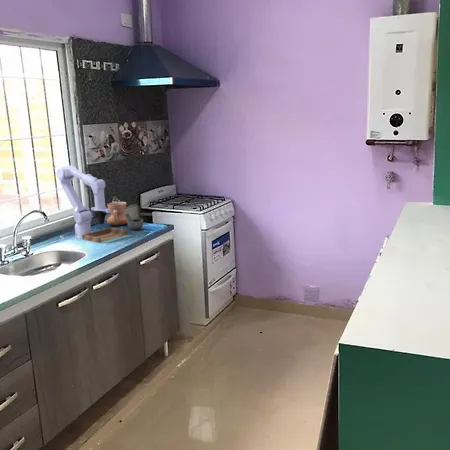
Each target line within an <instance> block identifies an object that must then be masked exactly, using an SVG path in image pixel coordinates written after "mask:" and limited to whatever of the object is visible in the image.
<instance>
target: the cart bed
mask: <svg viewBox="0 0 450 450" xmlns="http://www.w3.org/2000/svg"><path fill="white" fill-rule="evenodd" d="M124 235H129V233H128V230H127V229H121V228H117V227H108V228H103V229H100V230H95V231H91V233H88V234H84V235H82V237H81V239H82V240H85V241H89V242H93V243H94V242H95V243H98V244H99V243H104V242H103V241H107V240H110V239H114V238H117V237H121V236H124Z"/></svg>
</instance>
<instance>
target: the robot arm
mask: <svg viewBox="0 0 450 450" xmlns="http://www.w3.org/2000/svg"><path fill="white" fill-rule="evenodd" d="M55 174H56V176H57V178H58V181H59V183H60V185H61V188H62V189H63V191H64V193H65V195H66V196H67V199H68V200H69V202H70V204H71V206H72V208H73V211H72V216H73V219H74V221H75V225H74V233H75V236H74V238H76V239H80V238H82V235H84V234H88V233H92V227H91V222H92V219H93V212H94V215H95V217H96V218H97V221H98V224H99V225H103V224H105V219H106V215H107V214H111V213H110V209H108V206H106V199H105V188H106V186H107V185H106V181H105V180H104V179H102V178H100V179H98V177H94V176H93V175H92V174H90V173H87V174H86V173H83V172H82V171H80V170H79V169H77V167H76V166H75V165H74V166H73V165H72V164H70V165H66V166H59V167H58V168H57V169H56V173H55ZM74 178H76V179H77V178H78V179H79V180H82V183H83V184H85V185H87V186H89V187H90V188H91V190H92V193H93V200H94V206H92V207H90V210H89V208H88V207H87V206H85V205H84V204H83V203H82V201H81V199H80V198H79V196H78V194H77V192H76V190H75V188H74V186H73V184H72V181H73V179H74Z"/></svg>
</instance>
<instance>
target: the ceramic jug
mask: <svg viewBox="0 0 450 450" xmlns="http://www.w3.org/2000/svg"><path fill="white" fill-rule="evenodd" d="M106 207H107V208H108V209H110V213H109V214H110V216H108V218H107V219H106V222H107V224H108V225H110V226H116V227H117V226H124V225H126V224H127V225H128V223H127V221H128V219H127V218H126V216H125V214H126V210H127V202H126V201H113V202H110V203H107V206H106Z"/></svg>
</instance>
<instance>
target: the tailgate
mask: <svg viewBox="0 0 450 450" xmlns="http://www.w3.org/2000/svg"><path fill="white" fill-rule="evenodd" d="M132 237H134V235H133V234H128V235H124V236H121V237H117V238H114V239H110V240H107V241H103V242H102V243H103V244H112V243H114V242H118V241H122V240H125V239H129V238H132Z"/></svg>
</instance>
